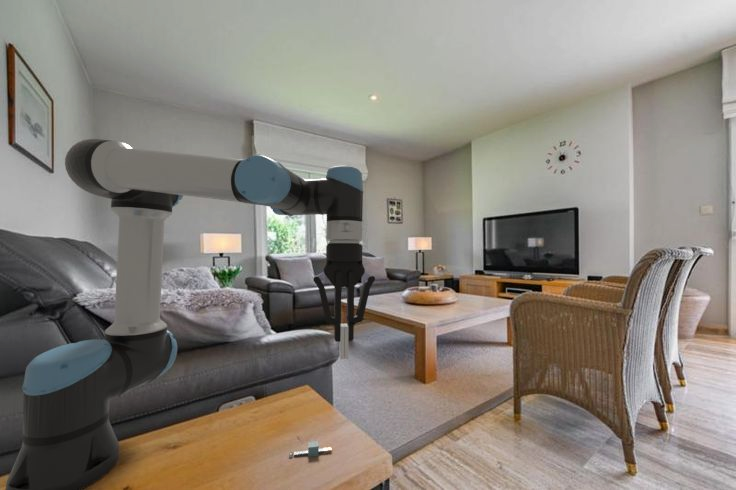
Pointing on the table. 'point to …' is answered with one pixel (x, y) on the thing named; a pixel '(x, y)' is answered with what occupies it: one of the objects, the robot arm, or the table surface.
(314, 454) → the teal matte cube
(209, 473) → the table surface
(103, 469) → the robot arm
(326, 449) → the bar
